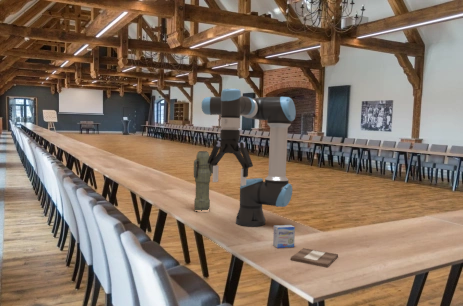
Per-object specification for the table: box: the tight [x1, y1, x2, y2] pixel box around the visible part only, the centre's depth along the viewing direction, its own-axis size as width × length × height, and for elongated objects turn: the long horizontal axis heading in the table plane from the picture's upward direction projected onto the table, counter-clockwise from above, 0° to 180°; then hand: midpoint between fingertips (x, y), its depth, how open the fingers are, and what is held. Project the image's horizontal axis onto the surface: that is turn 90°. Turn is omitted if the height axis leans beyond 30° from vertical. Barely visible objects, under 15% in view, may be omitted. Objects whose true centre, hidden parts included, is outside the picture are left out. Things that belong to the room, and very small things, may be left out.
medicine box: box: [272, 224, 296, 249], centre depth 165 cm, size 8×4×9 cm, turn 105°
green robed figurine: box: [193, 150, 213, 211], centre depth 231 cm, size 9×12×35 cm
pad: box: [290, 247, 339, 268], centre depth 150 cm, size 14×14×1 cm
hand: (228, 183), depth 154 cm, fingers open, 13 cm apart
